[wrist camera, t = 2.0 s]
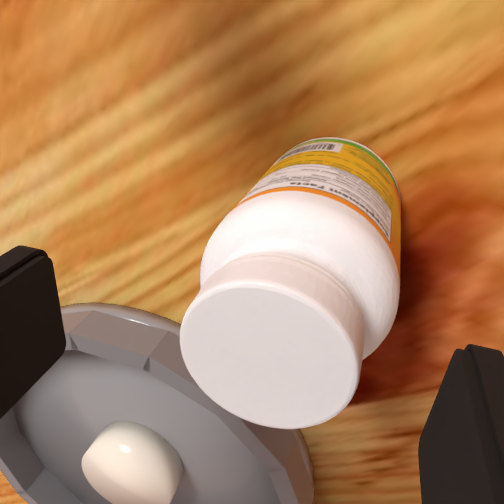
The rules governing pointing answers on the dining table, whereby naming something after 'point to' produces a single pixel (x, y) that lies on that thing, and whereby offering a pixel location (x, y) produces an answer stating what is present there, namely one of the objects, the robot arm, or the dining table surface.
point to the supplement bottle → (298, 286)
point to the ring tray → (140, 426)
